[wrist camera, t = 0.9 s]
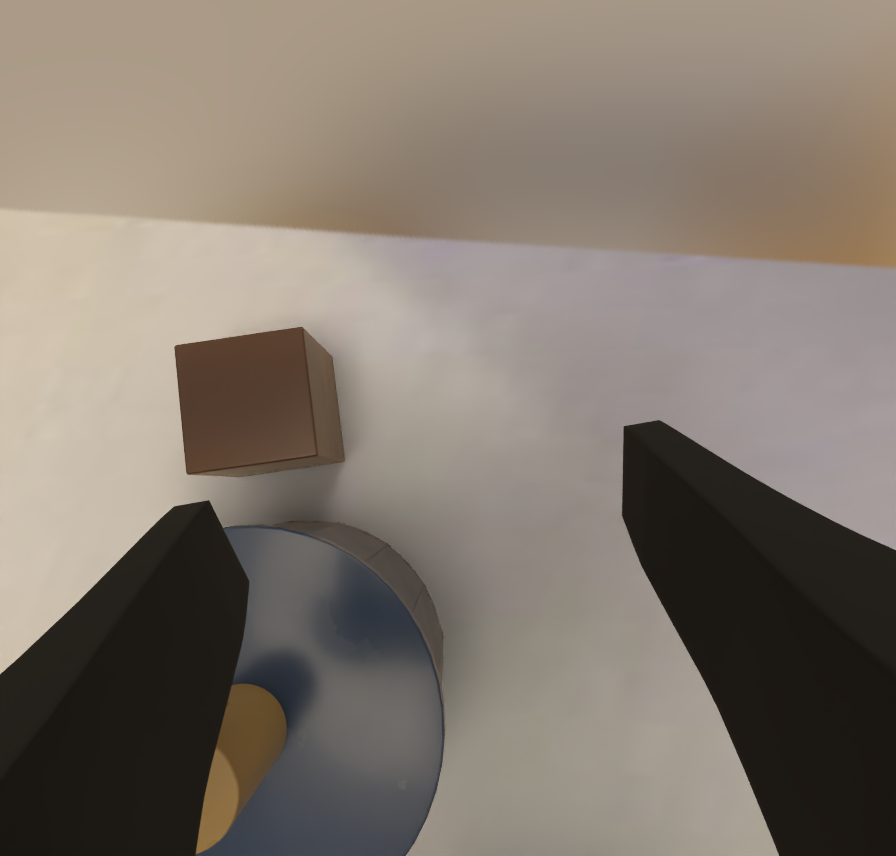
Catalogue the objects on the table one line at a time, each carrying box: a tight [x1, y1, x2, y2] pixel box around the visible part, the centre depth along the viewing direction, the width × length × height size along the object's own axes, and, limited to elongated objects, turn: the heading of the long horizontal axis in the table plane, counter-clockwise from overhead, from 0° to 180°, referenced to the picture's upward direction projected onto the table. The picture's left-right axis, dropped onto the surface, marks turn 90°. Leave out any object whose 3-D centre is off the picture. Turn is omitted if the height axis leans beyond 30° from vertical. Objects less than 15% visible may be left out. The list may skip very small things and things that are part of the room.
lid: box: [195, 525, 445, 856], centre depth 14 cm, size 11×11×4 cm
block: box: [175, 327, 345, 477], centre depth 21 cm, size 4×4×4 cm
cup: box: [270, 521, 443, 688], centre depth 19 cm, size 10×10×7 cm
